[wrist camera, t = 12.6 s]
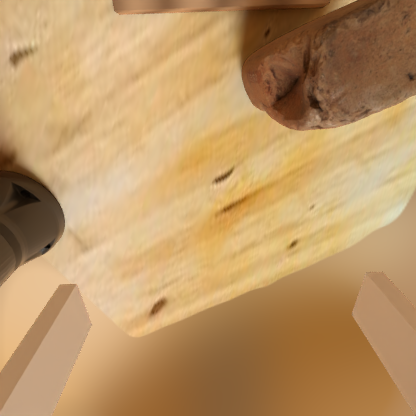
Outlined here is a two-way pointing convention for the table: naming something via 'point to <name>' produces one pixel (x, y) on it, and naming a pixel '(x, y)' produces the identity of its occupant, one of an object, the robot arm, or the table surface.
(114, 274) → the table surface
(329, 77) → the brown pitted rock
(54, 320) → the robot arm
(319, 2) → the board
